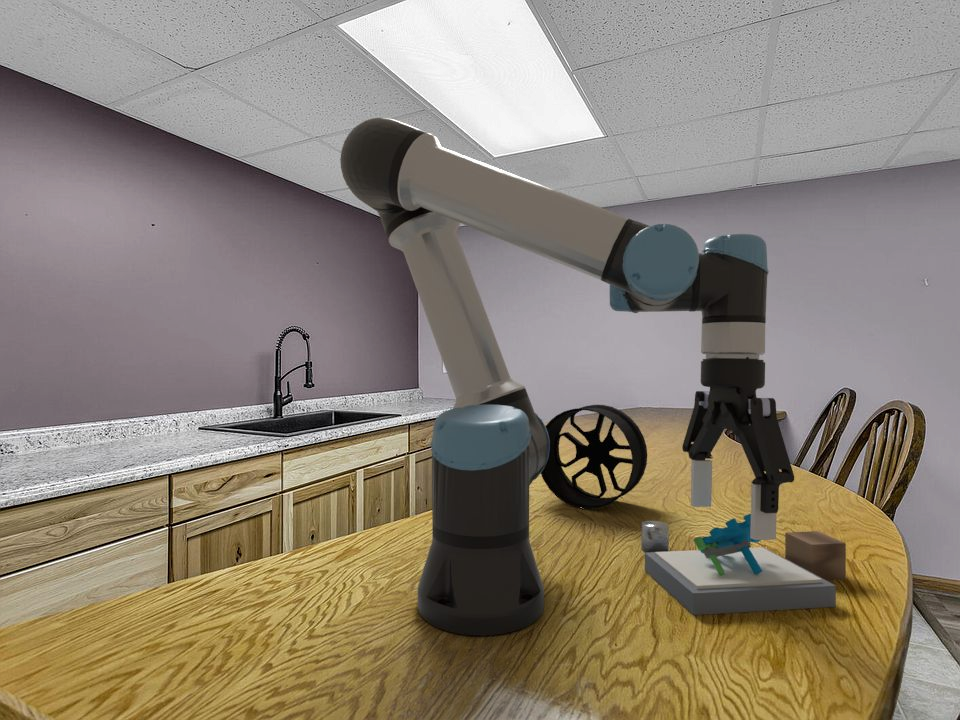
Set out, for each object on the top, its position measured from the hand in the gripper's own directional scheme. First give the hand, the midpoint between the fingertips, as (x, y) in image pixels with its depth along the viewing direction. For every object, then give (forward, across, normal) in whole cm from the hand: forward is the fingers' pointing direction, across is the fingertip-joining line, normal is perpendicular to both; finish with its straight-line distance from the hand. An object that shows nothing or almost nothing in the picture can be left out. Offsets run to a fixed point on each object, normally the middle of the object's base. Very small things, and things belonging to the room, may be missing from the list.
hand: (728, 521), depth 68 cm
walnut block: (+8, +3, -15) cm, 17 cm away
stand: (+8, 0, -1) cm, 9 cm away
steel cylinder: (+9, +14, +3) cm, 17 cm away
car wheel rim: (+9, +41, +4) cm, 42 cm away
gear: (+6, 0, 0) cm, 6 cm away
